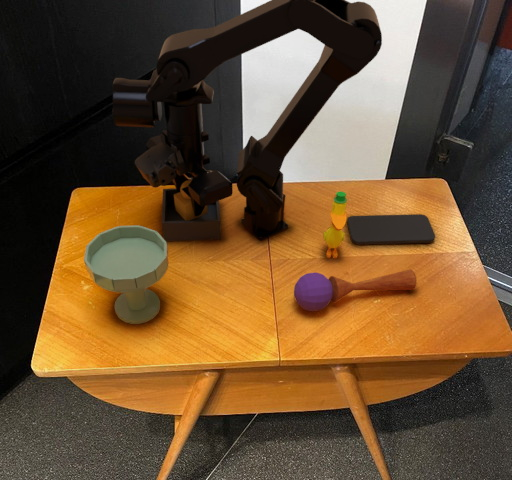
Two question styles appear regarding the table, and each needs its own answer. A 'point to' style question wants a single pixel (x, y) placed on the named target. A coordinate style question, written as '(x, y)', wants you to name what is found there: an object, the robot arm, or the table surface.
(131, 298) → the footed bowl
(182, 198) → the orange block
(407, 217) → the phone
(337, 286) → the kendama
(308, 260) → the table surface
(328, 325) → the table surface
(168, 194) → the bin
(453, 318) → the table surface
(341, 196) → the toy figure
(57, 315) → the table surface
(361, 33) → the robot arm
